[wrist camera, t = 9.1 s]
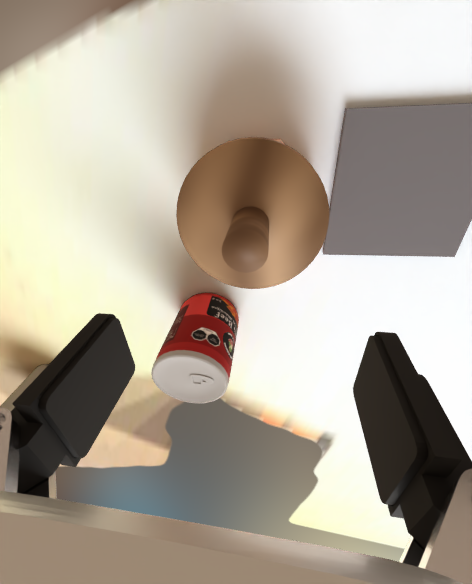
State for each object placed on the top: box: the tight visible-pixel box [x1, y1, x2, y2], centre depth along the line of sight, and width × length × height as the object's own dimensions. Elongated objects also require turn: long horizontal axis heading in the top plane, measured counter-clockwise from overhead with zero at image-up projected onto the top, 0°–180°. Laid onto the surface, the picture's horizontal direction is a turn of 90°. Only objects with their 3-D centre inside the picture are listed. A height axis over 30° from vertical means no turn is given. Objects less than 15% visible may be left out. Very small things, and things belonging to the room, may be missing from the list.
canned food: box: [152, 293, 239, 403], centre depth 32 cm, size 8×8×11 cm
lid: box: [177, 137, 329, 289], centre depth 20 cm, size 12×12×6 cm
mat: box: [323, 103, 472, 257], centre depth 25 cm, size 13×13×1 cm
